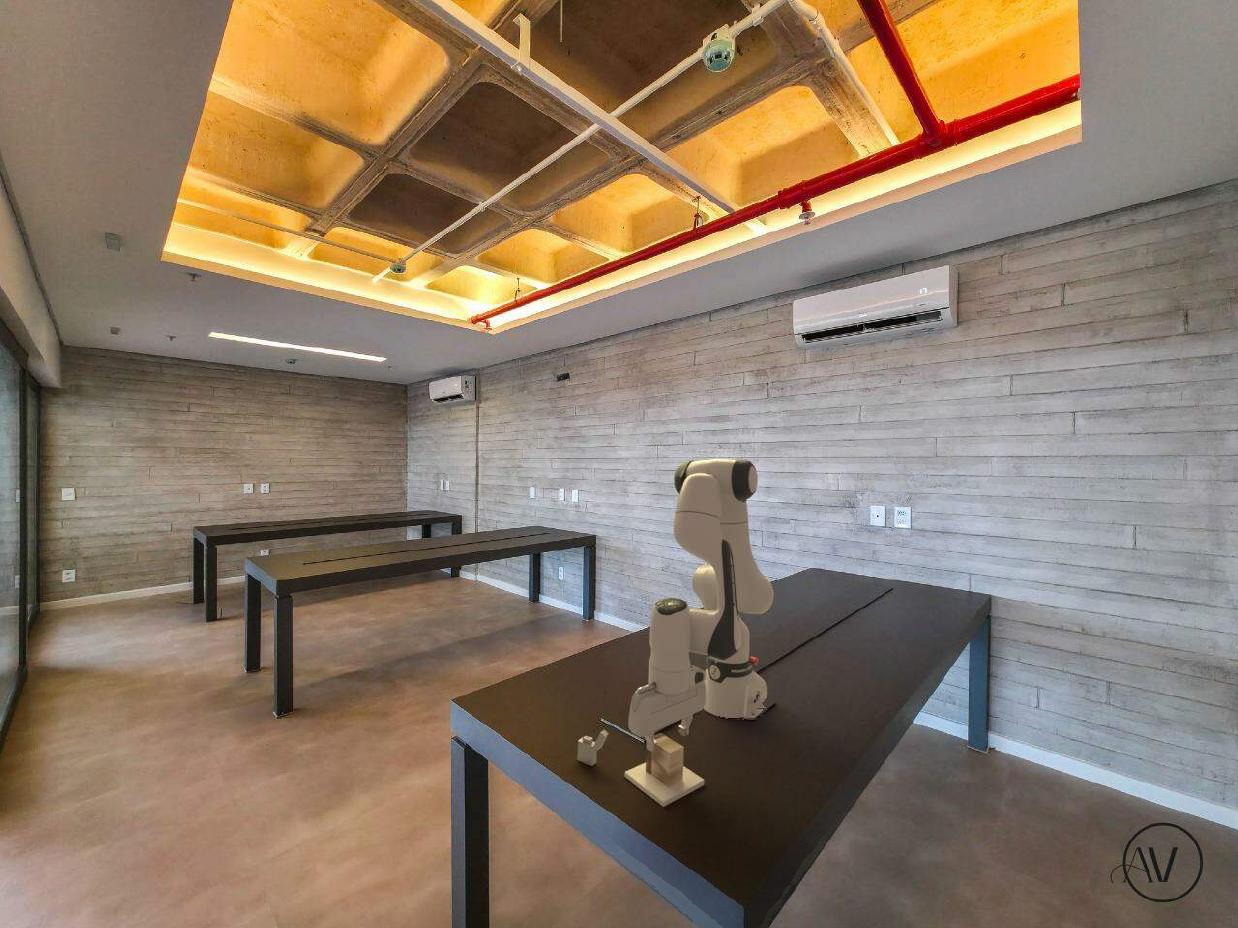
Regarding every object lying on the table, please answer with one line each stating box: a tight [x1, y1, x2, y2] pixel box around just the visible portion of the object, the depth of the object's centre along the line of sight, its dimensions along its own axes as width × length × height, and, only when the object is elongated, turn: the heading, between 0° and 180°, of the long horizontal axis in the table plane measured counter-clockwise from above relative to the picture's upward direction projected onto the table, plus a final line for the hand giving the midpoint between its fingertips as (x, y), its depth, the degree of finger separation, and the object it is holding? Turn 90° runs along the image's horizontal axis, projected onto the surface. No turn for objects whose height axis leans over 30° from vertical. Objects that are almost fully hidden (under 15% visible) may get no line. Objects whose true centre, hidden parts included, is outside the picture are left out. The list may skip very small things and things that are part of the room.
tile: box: [624, 762, 705, 808], centre depth 108 cm, size 12×12×1 cm
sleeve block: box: [645, 732, 685, 787], centre depth 108 cm, size 7×4×7 cm, turn 39°
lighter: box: [577, 729, 609, 767], centre depth 114 cm, size 7×2×8 cm, turn 59°
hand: (667, 741), depth 109 cm, fingers open, 8 cm apart
